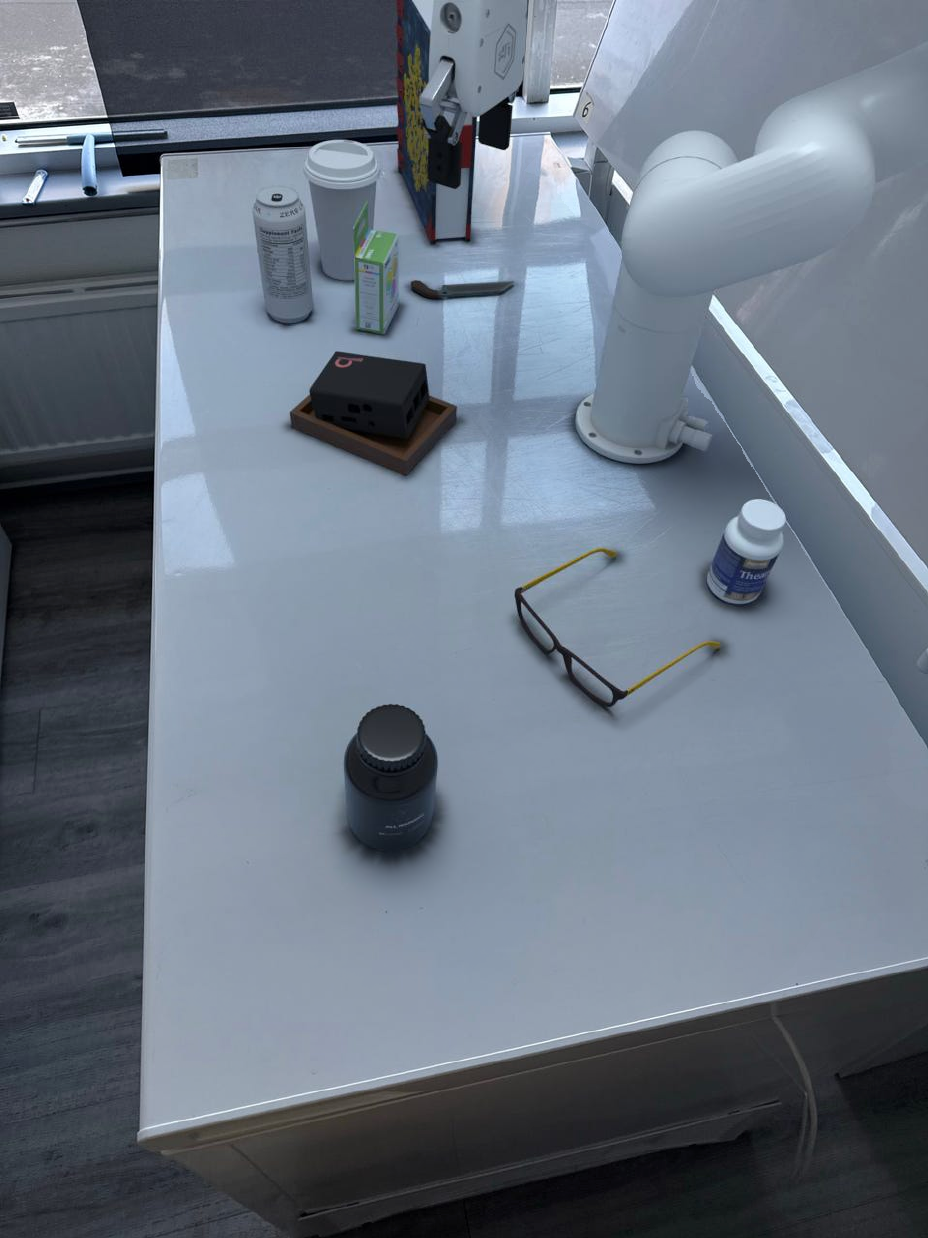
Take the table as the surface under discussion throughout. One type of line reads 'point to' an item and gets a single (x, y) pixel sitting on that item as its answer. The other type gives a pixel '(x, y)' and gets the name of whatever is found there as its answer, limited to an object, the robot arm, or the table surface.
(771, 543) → the pill bottle
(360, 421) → the electronic device
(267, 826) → the table surface
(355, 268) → the ink box
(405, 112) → the book
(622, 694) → the eyeglasses
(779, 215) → the robot arm
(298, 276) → the energy drink can
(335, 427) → the docking tray
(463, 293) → the knife
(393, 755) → the supplement bottle
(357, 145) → the coffee cup
